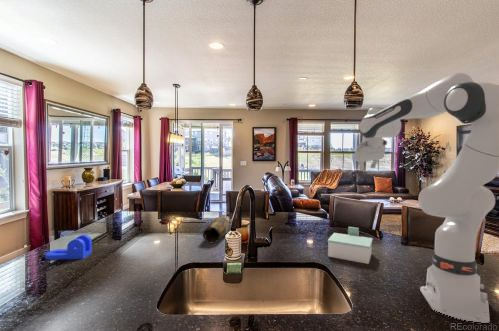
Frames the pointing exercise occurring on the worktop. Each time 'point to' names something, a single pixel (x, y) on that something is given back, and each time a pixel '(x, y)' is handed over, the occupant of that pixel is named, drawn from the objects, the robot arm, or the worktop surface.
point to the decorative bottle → (217, 229)
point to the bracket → (73, 249)
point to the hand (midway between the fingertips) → (367, 168)
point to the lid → (351, 239)
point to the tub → (349, 252)
